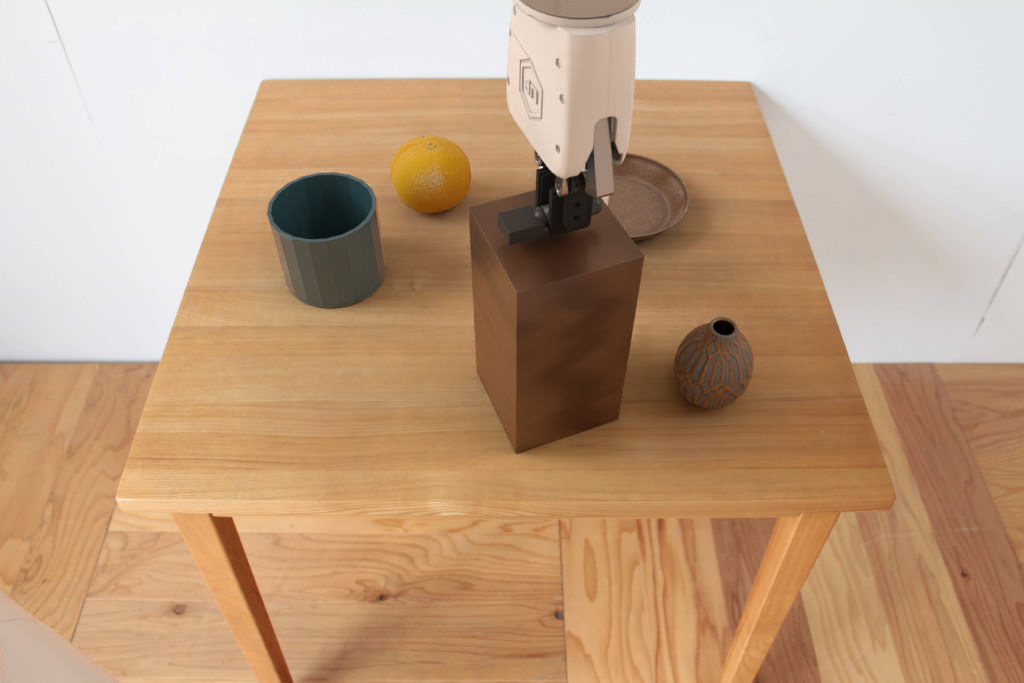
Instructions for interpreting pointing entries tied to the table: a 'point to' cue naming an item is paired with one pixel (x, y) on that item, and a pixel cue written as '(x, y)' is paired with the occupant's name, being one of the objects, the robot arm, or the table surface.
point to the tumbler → (328, 239)
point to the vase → (713, 364)
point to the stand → (552, 322)
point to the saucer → (647, 196)
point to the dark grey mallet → (530, 222)
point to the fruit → (430, 174)
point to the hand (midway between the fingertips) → (562, 218)
